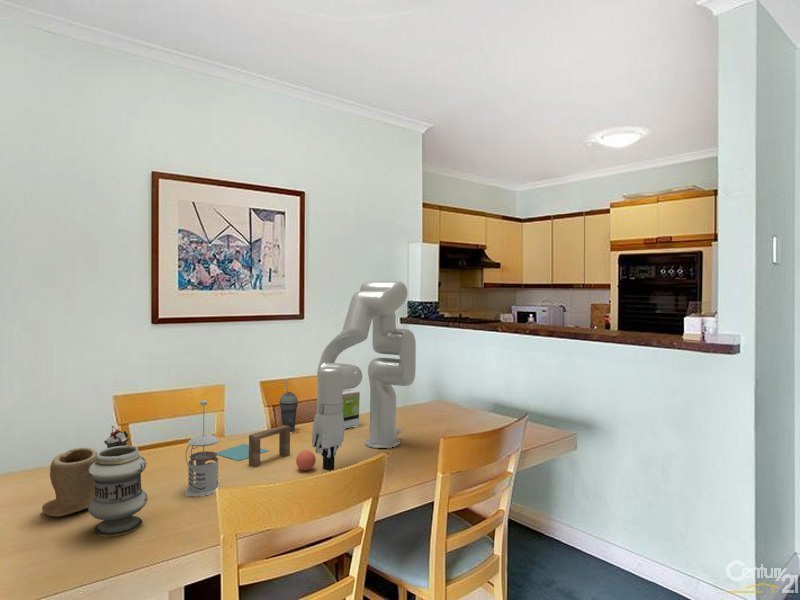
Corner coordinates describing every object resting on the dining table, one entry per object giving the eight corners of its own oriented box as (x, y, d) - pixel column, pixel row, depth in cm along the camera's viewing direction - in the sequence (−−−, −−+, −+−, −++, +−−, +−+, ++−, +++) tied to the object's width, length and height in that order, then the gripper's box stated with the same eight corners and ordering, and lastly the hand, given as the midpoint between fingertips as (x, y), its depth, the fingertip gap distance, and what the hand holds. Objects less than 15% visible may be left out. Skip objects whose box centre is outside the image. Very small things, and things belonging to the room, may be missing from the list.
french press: (199, 499, 134) (199, 405, 134) (172, 490, 141) (173, 400, 140) (229, 488, 143) (230, 399, 142) (203, 479, 149) (203, 394, 149)
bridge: (248, 465, 161) (249, 435, 161) (283, 453, 174) (283, 425, 174) (255, 467, 160) (255, 436, 160) (289, 455, 172) (290, 426, 172)
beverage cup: (293, 434, 197) (293, 383, 197) (275, 433, 198) (276, 382, 198) (300, 429, 204) (301, 380, 204) (283, 428, 205) (284, 379, 205)
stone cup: (55, 526, 119) (55, 462, 118) (36, 512, 126) (36, 452, 126) (122, 504, 131) (122, 446, 131) (101, 493, 138) (101, 438, 138)
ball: (305, 465, 162) (305, 446, 162) (319, 469, 159) (319, 449, 159) (291, 470, 157) (292, 451, 157) (306, 474, 154) (306, 454, 154)
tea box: (331, 433, 199) (332, 396, 199) (315, 428, 206) (316, 392, 206) (359, 426, 210) (360, 391, 210) (343, 422, 217) (344, 387, 217)
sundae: (103, 479, 148) (103, 428, 148) (104, 471, 154) (104, 422, 154) (128, 475, 151) (129, 425, 151) (129, 468, 157) (129, 420, 157)
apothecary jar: (77, 530, 117) (77, 452, 116) (128, 511, 127) (129, 439, 127) (106, 544, 110) (106, 462, 110) (157, 523, 120) (158, 448, 120)
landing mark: (244, 444, 183) (244, 443, 183) (269, 450, 176) (269, 450, 176) (213, 453, 172) (213, 453, 172) (238, 461, 165) (238, 460, 165)
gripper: (336, 402, 161) (335, 460, 161) (302, 411, 148) (301, 473, 148) (354, 405, 157) (353, 465, 157) (322, 414, 144) (321, 479, 144)
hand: (328, 469), depth 152 cm, fingers closed
